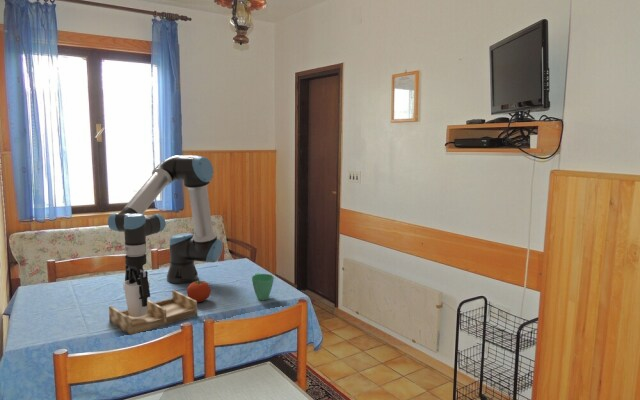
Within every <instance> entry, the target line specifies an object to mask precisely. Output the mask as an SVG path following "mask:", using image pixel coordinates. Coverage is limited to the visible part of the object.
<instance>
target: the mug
mask: <svg viewBox="0 0 640 400" xmlns="http://www.w3.org/2000/svg"><path fill="white" fill-rule="evenodd" d="M274 280H275V277H274V275H272V274H269V273H260V272H257V273H255V275H252V277H251V281H252V285H253V290H254V294H255V296H256V298H257V299H256V300H259V301H267V300H268V299H269V297H270V294H271V292H272V288H273V284H274Z"/></svg>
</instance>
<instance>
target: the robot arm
mask: <svg viewBox="0 0 640 400" xmlns="http://www.w3.org/2000/svg"><path fill="white" fill-rule="evenodd" d="M213 178H214V166H213V164H212V162H211V160H210V159H209V158H208V157H206V156H200V155H179V154H177V155H172V156H170V157H168V158H166V159H164V160H163V161H161V162H160V163H159V164H158V165H156V166H155V168H154V169H153V170H152V172H151V176H150V177H149V178H148V179H147V180H146V182H145V183H144V184H143V185H142V186H141V187H140V189H139V190H138V191H137V192H136V193H135V194H134V196H133V197H132V198H131V199H130V200H129V202H128V203H126V205H125V206H124V207H123V208H122V209H121V211H120V212H112V213H111V214H110V215H109V216H108V219H107V226H108V228H109V229H110V230H111V231H114V232H119V233H120V232H121V233H122V232H123V233H124V248H123V250H124V254H125V256H124V257H125V258H124V259H125V260H124V262H125V265H124V266H125V273H124V274H125V276H124V282H125V281H127V280H129V284H133V283H135V282H137V285H141V286H139V293H140V298H139V305H140V315H143V314H147V313H148V311H147V298H148V299H149V298H150V297H151V291H150V287H149V283H150V282H149V283H148V280H149V278H148V277H149V276H148V274H149V272H148V271H147V270H145V271H144V268H143V267H144V266H145V265H146V264H147V254H146V253H147V241H146V240H147V239H146V238H147V237H148V236H151V235H155V234H158V233H161V232H162V231H163V230H164V229H165V227H166V224H167V223H166V219H165V218H164V216H163V215H161V214H160V213H155V214H154V213H152V214H145V212H146V211H147V210H148V209H149V207H150V206H151V204H152V203H153V202H154V201H155V200H156V199H157V197H158V196H159V195H160V193H161V192H163V190H164V188H165V187H166V186H169V185H171V183H172V182H174V181H182V182H183V184H184V187H185V188H187V190H188V194H189V195H188V196H189V203H190V209H191V215H192V222H193V227H194V228H193V230H194V233H192V232H187V233H186V232H185V233H178V234H175V235H172V236H171V237H170V238H169V268H168V271H167V273H166V274H167V275H166V280H167V282H169V283H171V284H188V283H193V282H195V281H198V280H199V279H198V277H199V275H198V271H197V268H196V265H195V262H203V263H216V262H218V260H219V259H220V257H221V255H222V252H223V247H224V243H223V240H221V239H220V238H218V236H217V233H216V232H214V230H213V224H212V223H213V222H212V214H211V208H210V207H211V206H210V201H209V200H210V199H209V193H208V192H209V191H208V186H209V185H210V183H211V180H212V179H213ZM139 278H140V279H139Z"/></svg>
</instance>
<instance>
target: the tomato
mask: <svg viewBox="0 0 640 400" xmlns="http://www.w3.org/2000/svg"><path fill="white" fill-rule="evenodd" d="M211 289H212V288H211V287H210V284H209V283H208V282H207V281H205V280H200V279H197V280H195V281H192V282H190V284H189V285H188V286H187V289H186V296H188V297H190V298H192V299H194V300H196V301H197V303H200V302H204V301H206V300H207V299H208V298H210V295H211V293H212V292H211V291H212V290H211Z"/></svg>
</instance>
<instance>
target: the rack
mask: <svg viewBox="0 0 640 400" xmlns="http://www.w3.org/2000/svg"><path fill="white" fill-rule="evenodd" d="M171 292H172V295H171V296H172V298H171V297H170V298H167V299H164V300H159V301H156V302H153V301H152V300H150V299H148V301H147V311H148V313H147V314H145V315H144V316H141V317H130V316H129V313H128V309H125V310H119V309H117V308H116V307H114V306H113V305H109V306H108V314H109V315H108V316H109V319H108V320H109V322H110V323H112V324H113V325H115V326H116V327H117V328H119V329H121V331H123V332H124V333H126V334H128V336H133V335H135V334H140V333H143V332H146V331H149V330H153V329H155V328H159V327H162V326H166V325H169V324H172V323H174V322H175V323H176V322H178V321H183V320H185V319H189V318H192V317H196V316H198V302H197V301H196V300H194V299H192V298H190V297H188V295H187V294H186V295H185V294H183V293H182V292H179V291H177V290H175V289H174V290H172V291H171Z"/></svg>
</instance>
